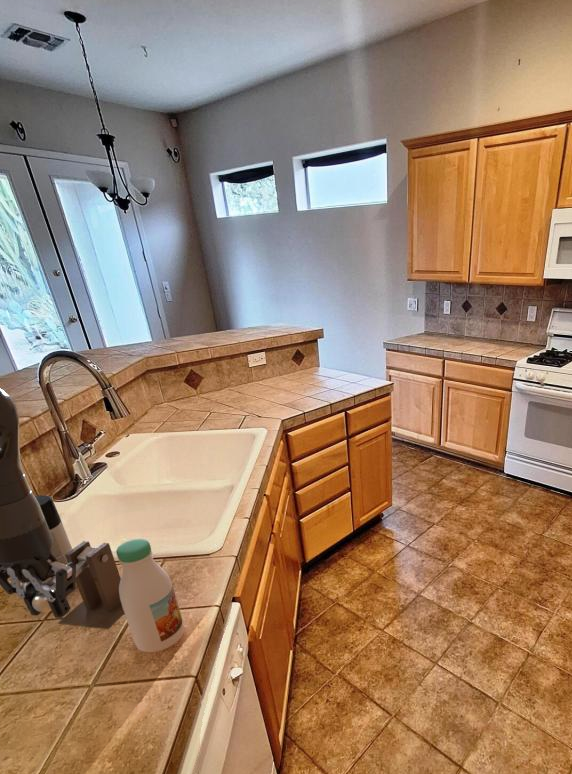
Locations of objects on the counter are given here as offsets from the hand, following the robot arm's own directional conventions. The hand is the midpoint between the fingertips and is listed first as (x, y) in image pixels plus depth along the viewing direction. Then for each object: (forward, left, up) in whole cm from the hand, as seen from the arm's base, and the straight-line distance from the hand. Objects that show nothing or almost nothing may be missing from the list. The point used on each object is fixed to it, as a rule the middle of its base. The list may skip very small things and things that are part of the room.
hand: (51, 612), depth 71 cm
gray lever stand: (0, +10, -8) cm, 13 cm away
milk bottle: (+15, +4, -8) cm, 17 cm away
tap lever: (0, +5, +1) cm, 5 cm away
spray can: (-13, +14, -8) cm, 21 cm away
